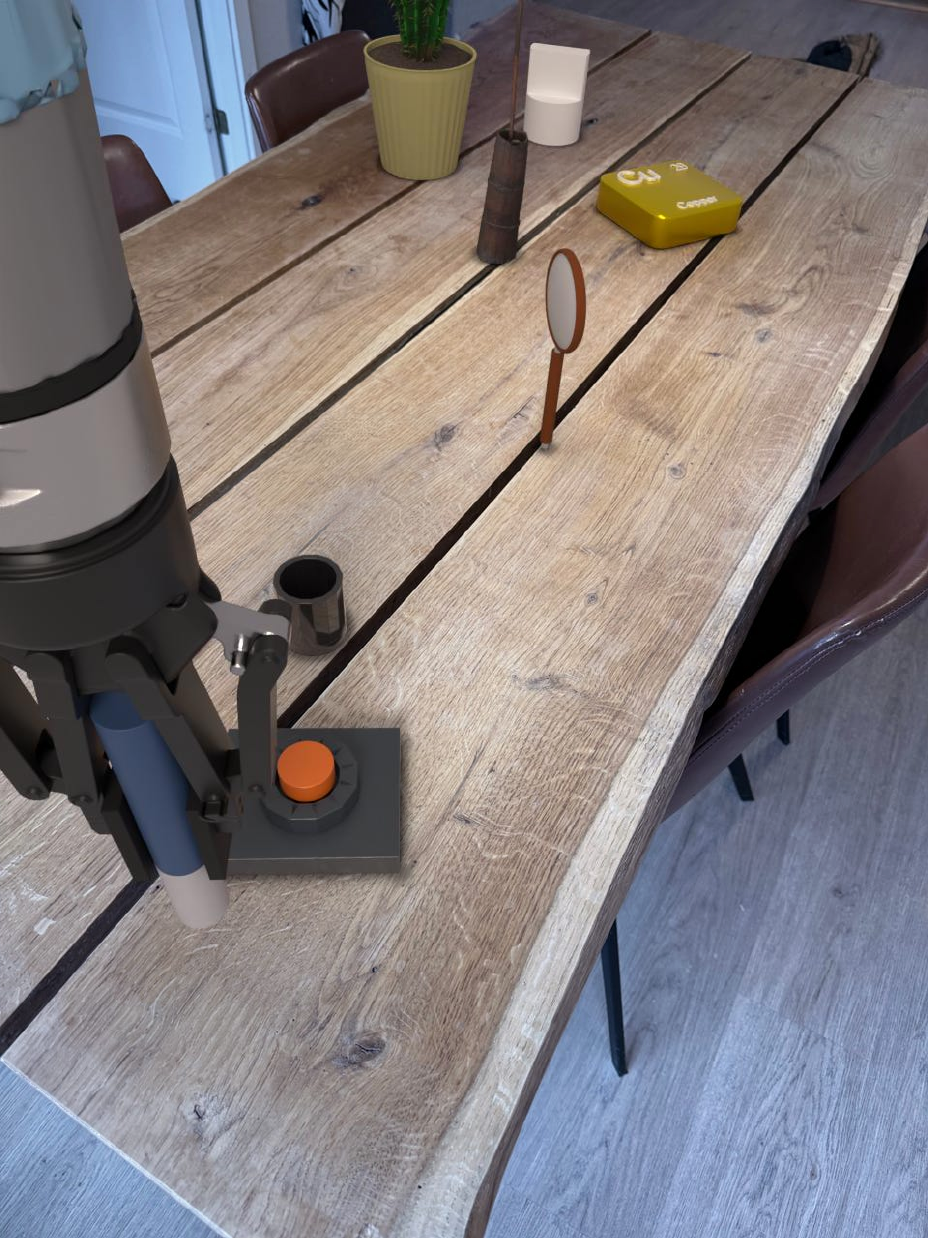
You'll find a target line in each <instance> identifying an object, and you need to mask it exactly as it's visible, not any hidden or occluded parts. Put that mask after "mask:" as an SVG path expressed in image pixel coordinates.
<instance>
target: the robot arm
mask: <svg viewBox="0 0 928 1238" xmlns="http://www.w3.org/2000/svg"><path fill="white" fill-rule="evenodd" d="M79 13H80V12H79V11H78V8H77V6H76V4H75V3H74V2H73V1H72V0H0V771H1V773H2V774H3V775H4V776H5V778H6V779H7V780H8V782H9V783H10V784H11V785H12V787H13V788H14V789H15V790H16V792H17V793H18V794H19V795H20V796H21V797H23V798H24V799H27V800H29V801H30V800H31V801H45V800H47V799H49V797H50V795H51V793H57V794H61V795H65V796H66V797H67V800H68V803H70V804H72V805H73V806H76V807H78V808H80V810H81V812H82V814H83V816H84V817H85V820H86V821H87V823H88V825H89V827H90V829H91V830H92V831H93V832H95V833H96V834H97V835H100V836H101V835H102V836H103V835H105V836H106V835H111V837H112V839H113V841H114V844H115V845H116V847H117V849H118V851H119V853H120V855H121V857H122V859H123V861H124V863H125V865H126V868H127V870H128V871H129V875H130V876H131V878H132V880H133V882H151V879H152V875H153V870H154V866H155V863H154V861H153V859H152V857H151V854H150V852H149V850H148V847H147V845H146V843H145V841H144V838H143V836H142V834H141V831H140V829H139V827H138V824H137V822H136V820H135V818H134V815H133V813H132V811H131V808H130V806H129V804H128V802H127V799H126V797H125V795H124V792H123V790H122V788H121V785H120V783H119V781H118V779H117V776H116V774H115V772H114V769H113V767H112V766H111V763H110V760H109V758H108V756H107V753H106V751H105V749H104V746H103V744H102V742H101V740H100V737H99V735H98V733H97V730H96V728H95V726H94V723H93V721H92V719H91V717H90V714H89V707H90V703H91V700H92V696H93V693H98V692H104V691H114V692H120V693H127V695H128V697H129V698H130V700H131V702H132V703H133V705H134V706H135V708H136V710H137V711H138V713H139V715H140V716H141V718H142V719H143V720H150V719H152V720H153V722H154V724H155V725H156V727H157V729H158V730H159V732H160V734H161V735H162V737H163V739H164V740H165V742H166V744H167V745H168V747H169V749H170V750H171V752H172V753H173V755H174V757H175V758H176V760H177V762H178V763H179V765H180V767H181V768H182V770H183V772H184V773H185V775H186V777H187V778H188V780H189V782H190V783H191V786H190V790H189V795H188V800H187V806H186V814H187V817H188V820H189V823H190V825H191V828H192V831H193V834H194V837H195V840H196V843H197V845H198V848H199V851H200V854H201V857H202V860H203V862H204V865H205V868H206V871H207V874H208V877H209V880H225V881H226V880H227V876H228V875H227V868H228V861H229V854H230V847H231V840H232V833H238V832H239V831H240V829H241V827H242V819H243V812H244V805H245V797H244V794H245V795H246V796H249V797H252V798H264V797H267V796H268V795H270V793H271V790H272V781H273V773H274V764H275V756H276V747H277V729H278V680H280V677H281V676H282V674H283V672H284V671H285V669H286V668H287V665H288V663H289V653H290V648H289V646H290V638H291V629H292V620H293V611H294V610H293V608H292V606H291V605H290V604H289V603H288V602H286V601H284V600H281V599H275V598H269V599H266V600H264V601H263V602H262V603H261V604H260V605H259V608H258V609H257V610H255V609H251V608H248V607H245V606H242V605H238V604H235V603H231V602H229V601H226V600H223V597H222V593H221V591H220V588H219V586H218V585H217V584H216V583H215V581H214V580H213V579H212V578H210V576H208V575H207V574H206V572H205V571H204V570H203V568H202V567H201V565H200V562H199V559H198V553H197V547H196V543H195V537H194V533H193V529H192V526H191V525H192V524H191V520H190V517H189V512H188V507H187V504H186V503H187V502H186V499H185V495H184V490H183V487H182V482H181V478H180V473H179V469H178V466H177V462H176V460H175V457H174V456H173V454H172V452H171V451H172V438H171V434H170V429H169V424H168V420H167V416H166V414H165V409H164V403H163V400H162V396H161V392H160V389H159V384H158V380H157V375H156V372H155V367H154V363H153V359H152V355H151V350H150V347H149V343H148V338H147V335H146V331H145V326H144V322H143V320H142V317H141V316H142V315H141V313H140V312H141V311H140V308H139V303H138V299H137V295H136V292H135V290H134V288H133V285H132V282H131V278H130V274H129V269H128V265H127V260H126V256H125V251H124V246H123V243H122V238H121V237H122V236H121V233H120V229H119V223H118V219H117V215H116V210H115V205H114V198H113V194H112V189H111V184H110V179H109V178H110V177H109V173H108V168H107V162H106V158H105V152H104V148H103V143H102V142H103V141H102V137H101V132H100V127H99V121H98V117H97V112H96V106H95V101H94V96H93V91H92V86H91V81H90V80H91V79H90V75H89V70H88V65H87V61H86V58H87V53H88V45H87V41H86V37H85V34H84V29H83V21H82V17H81V16H80V14H79ZM212 639H215V640H217V641H218V642H219V643H220V644H221V645H222V647H223V657H224V658H225V660H227V661H228V662H230V665H229V672H230V673H231V674H233V675H234V676H237V677H238V680H237V686H236V699H235V700H236V712H237V713H236V714H237V715H236V717H237V729H238V734H239V748H237V749H236V748H235V746H234V744H233V742H232V740H231V738H230V736H229V734H228V732H229V731H228V730H227V728H226V726H225V724H224V722H223V720H222V717H220V715H219V712H218V710H217V709H216V707H215V704H214V702H213V700H212V698H211V696H210V695H209V692H208V689H206V686H205V684H204V682H203V680H202V679H201V676H200V674H199V672H198V671H197V669H196V667H195V664H194V662H193V660H194V658H195V657H196V656H197V654H199V653H200V651H202V650H203V648H204V647H205V646H206V645H207V644H208V643H209V642H210V640H212ZM14 667H16V668H18V669H20V670H22V671H23V672H25V673H26V677H27V679H28V680H29V681H31V682H32V686H33V690H34V694H35V698H36V700H35V698H34V696H33V695H32V693H31V692H30V691H29V689H28V687H27V686H26V684H25V683H24V682H23V680H22V678H21V677H20V675H19V674H18V672H17V671H16V669H15V668H14ZM243 793H244V794H243Z"/></svg>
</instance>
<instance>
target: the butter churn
mask: <svg viewBox="0 0 928 1238" xmlns="http://www.w3.org/2000/svg"><path fill="white" fill-rule="evenodd" d="M523 6H524V0H518V1H517V13H516V23H515V24H516V27H515V43H514V59H513V75H512V76H513V77H512V88H511V101H510V105H511V106H510V116H509V128H507V129H506V128H501V129H499V130H497V132H496V135H495V139H494V145H493V152H492V158H491V164H490V171H489V175H488V177H487V187H486V192H485V193H486V194H485V200H484V205H483V212H482V215H481V216H482V217H481V222H480V226H479V227H480V228H479V232H478V238H477V245H476V253H477V257H478V259H479V260H481V261H483V262H486V263H488V264H493V265H494V264H495V265H503V264H504V263H507V262H510V261H512V260H514V259H516V257H517V250H518V240H519V232H520V231H519V230H520V227H521V224H522V223H521V211H522V205H523V196H524V195H523V194H524V187H525V183H526V182H525V179H526V171H527V162H528V161H527V160H528V153H529V152H528V149H529V148H528V147H529V144H530V142H529V140H528V137H527V133H526V132H525V131H523V130H518V129H515V121H516V114H515V112H516V111H517V110H516V100H517V89H518V85H517V84H518V73H519V72H518V71H519V61H520V59H519V58H520V50H521V32H522V20H523Z"/></svg>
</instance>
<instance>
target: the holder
mask: <svg viewBox="0 0 928 1238" xmlns="http://www.w3.org/2000/svg"><path fill="white" fill-rule="evenodd" d="M272 587H273V593H274V599H281V600H284V601H286V602H288V603H289V604H290V605H291V606H292V608H293V610H294V611H293V620H292V629H291V638H290V646H289V650H292V651H293V652H295V653H297V654H300V655H303V656H319V655H320V656H321V655H324V654H328V653H330V652H332V651H334V650H335V649H337V648H338V647H339V646H341V644H342V643H343V642H344V640H345V639H346V636H347V632H348V624H347V618H348V617H347V607H346V605H347V604H346V591H345V581H344V573H343V571H342V569H341V567H340V565H339V564H338V563H337V562H335V561H334V560H332V559H331V558H330V557H327V556H324V555H320V554H301V555H297V556H293V557H291V558H289V559H288V560H286V561H284V562H283V563H281V564H280V565H279V566H278V567H277V569H276V570H275V572H274V573H273V579H272Z"/></svg>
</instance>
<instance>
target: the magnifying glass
mask: <svg viewBox="0 0 928 1238" xmlns="http://www.w3.org/2000/svg"><path fill="white" fill-rule="evenodd" d="M547 267H548V268H547V272H546V278H545V279H546V280H545V295H544V296H545V297H544V298H545V315H546V322H547V326H548V327H547V328H548V331H549V335H550V339H551V341H552V343H553V345H554V347H553V348H552V349H551V351H550V352H551V353H550V357H549V358H550V359H549V366H548V375H547V382H546V390H545V396H544V397H545V398H544V405H543V406H544V407H543V411H542V412H543V413H542V419H541V420H542V421H541V427H540V435H539V442H540V443H541V445H540V447H541V448H542V449H543V450H547V449H549V447H550V444H552V442H553V436H554V430H555V429H554V428H555V421H556V415H557V408H558V402H559V401H558V400H559V394H560V387H561V381H562V380H561V379H562V373H563V366H564V360H565V355H568V354H572V353H574V352H576V351H577V350H578V348H579V346H580V344H581V342H582V339H583V337H584V332H585V326H586V320H587V319H586V318H587V317H586V316H587V292H586V283H585V277H584V273H583V269H582V266H581V262H580V261H579V257H578V256H577V254H576V253H575V251H574V250H572V249H571V248H566V247H565V248H563V247H562V248H559V249H557V250H556V251H555V252H553V254H552V256H551V258H550V261H549V263H548V266H547Z"/></svg>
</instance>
